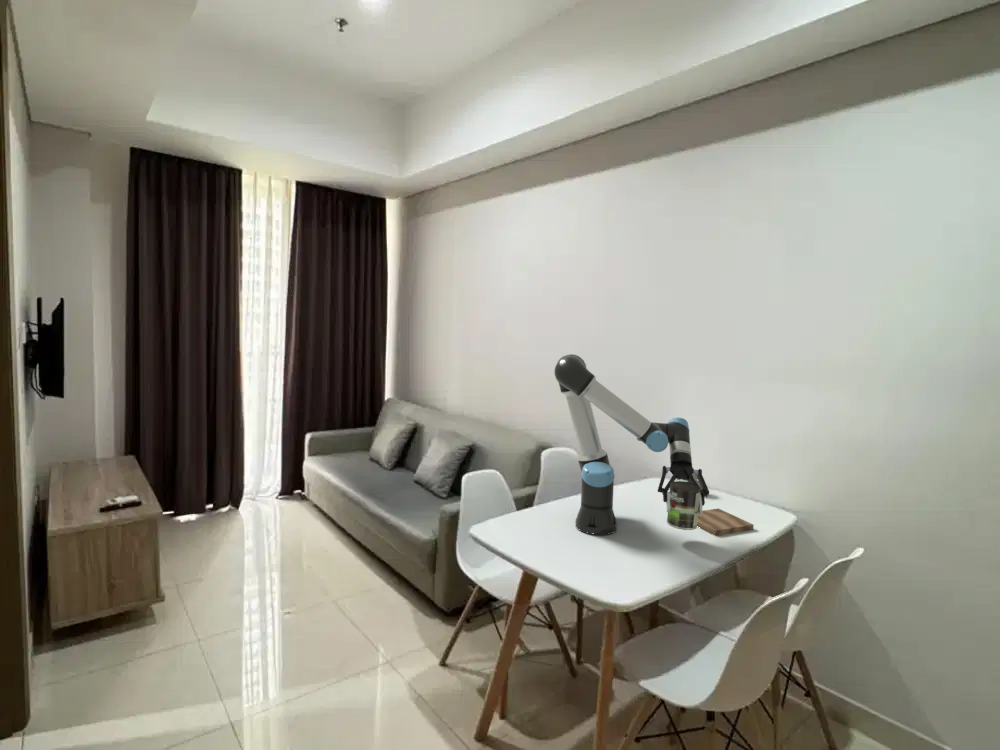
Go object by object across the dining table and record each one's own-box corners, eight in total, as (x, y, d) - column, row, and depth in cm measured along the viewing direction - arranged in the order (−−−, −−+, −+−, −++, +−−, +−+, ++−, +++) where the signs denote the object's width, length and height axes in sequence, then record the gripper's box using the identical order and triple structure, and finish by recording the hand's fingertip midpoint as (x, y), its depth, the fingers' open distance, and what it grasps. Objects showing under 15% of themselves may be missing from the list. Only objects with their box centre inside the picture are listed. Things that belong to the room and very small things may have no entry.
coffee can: (682, 532, 185) (685, 492, 183) (660, 521, 194) (663, 482, 192) (704, 527, 190) (707, 488, 188) (681, 517, 199) (685, 479, 197)
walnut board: (715, 535, 197) (715, 530, 197) (681, 518, 214) (682, 513, 214) (753, 529, 204) (753, 524, 203) (718, 513, 220) (718, 508, 220)
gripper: (710, 463, 203) (716, 519, 190) (647, 458, 207) (649, 513, 193) (714, 453, 198) (721, 510, 184) (650, 448, 201) (652, 504, 187)
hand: (684, 512), depth 188 cm, fingers closed on coffee can, 10 cm apart
